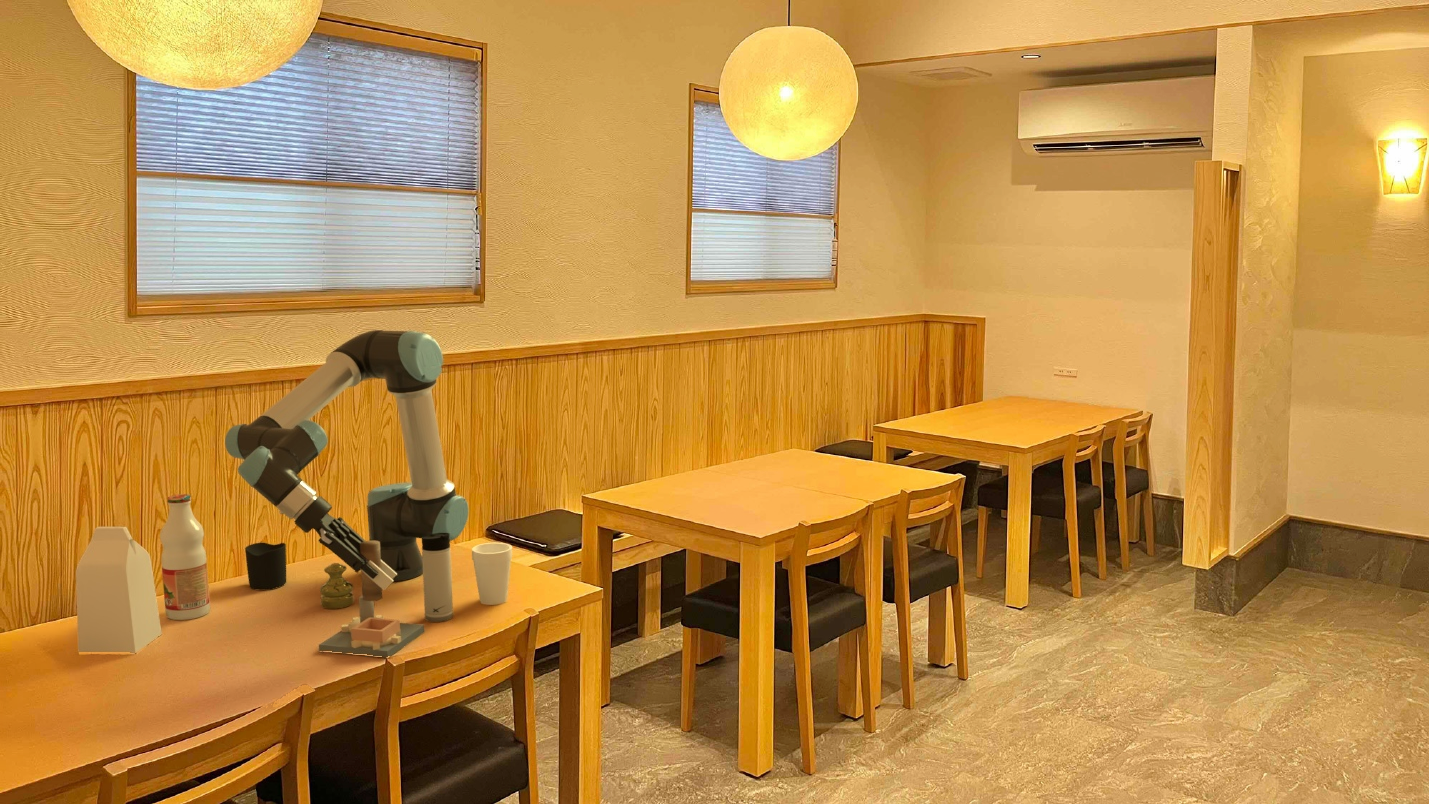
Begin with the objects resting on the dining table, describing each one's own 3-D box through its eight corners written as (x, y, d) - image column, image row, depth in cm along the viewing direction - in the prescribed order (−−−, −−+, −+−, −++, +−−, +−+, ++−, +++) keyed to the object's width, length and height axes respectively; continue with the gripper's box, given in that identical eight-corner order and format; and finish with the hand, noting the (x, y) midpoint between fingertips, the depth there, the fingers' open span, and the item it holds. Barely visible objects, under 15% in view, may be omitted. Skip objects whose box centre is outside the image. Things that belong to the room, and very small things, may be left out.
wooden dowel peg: (369, 594, 242) (366, 540, 241) (385, 595, 242) (383, 541, 240) (358, 600, 239) (356, 545, 237) (376, 601, 238) (373, 546, 236)
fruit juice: (199, 621, 259) (190, 501, 254) (158, 621, 259) (148, 501, 254) (217, 607, 268) (208, 491, 264) (177, 607, 268) (168, 491, 264)
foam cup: (518, 594, 276) (516, 543, 274) (507, 607, 267) (506, 554, 265) (480, 593, 277) (478, 542, 275) (468, 606, 268) (466, 553, 266)
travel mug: (440, 624, 256) (436, 538, 253) (419, 619, 260) (415, 534, 256) (459, 616, 261) (456, 532, 258) (439, 611, 265) (435, 528, 262)
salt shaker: (359, 604, 270) (357, 563, 268) (330, 612, 265) (328, 570, 263) (343, 597, 275) (341, 557, 273) (315, 604, 270) (312, 564, 268)
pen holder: (278, 577, 291) (275, 539, 289) (294, 585, 284) (292, 546, 283) (241, 585, 284) (238, 546, 283) (257, 593, 278) (254, 554, 276)
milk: (78, 654, 239) (67, 535, 235) (107, 635, 250) (96, 520, 246) (135, 654, 239) (125, 534, 235) (161, 635, 250) (152, 520, 246)
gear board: (360, 625, 256) (358, 587, 254) (425, 631, 252) (423, 593, 251) (319, 652, 240) (316, 612, 239) (387, 658, 236) (385, 618, 235)
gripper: (303, 510, 244) (385, 582, 248) (282, 531, 227) (370, 607, 232) (327, 485, 244) (409, 558, 248) (308, 504, 227) (396, 581, 232)
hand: (390, 581), depth 240 cm, fingers closed on wooden dowel peg, 4 cm apart
